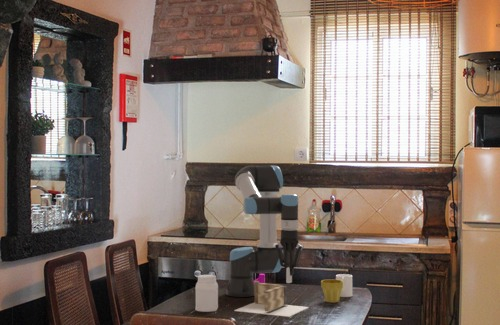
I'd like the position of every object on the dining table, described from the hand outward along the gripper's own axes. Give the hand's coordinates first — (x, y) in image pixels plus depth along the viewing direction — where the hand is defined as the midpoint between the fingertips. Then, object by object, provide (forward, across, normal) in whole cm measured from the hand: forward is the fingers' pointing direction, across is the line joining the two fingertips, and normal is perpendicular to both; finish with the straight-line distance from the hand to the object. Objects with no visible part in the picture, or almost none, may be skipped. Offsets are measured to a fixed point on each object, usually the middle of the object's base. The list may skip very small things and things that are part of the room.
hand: (289, 282), depth 313 cm
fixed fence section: (+14, -16, +11) cm, 24 cm away
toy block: (+16, -44, +49) cm, 68 cm away
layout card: (+14, -10, +3) cm, 17 cm away
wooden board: (+14, -8, +11) cm, 19 cm away
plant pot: (+14, +8, +33) cm, 37 cm away
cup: (+15, +8, +48) cm, 51 cm away
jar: (+14, -36, -10) cm, 40 cm away
